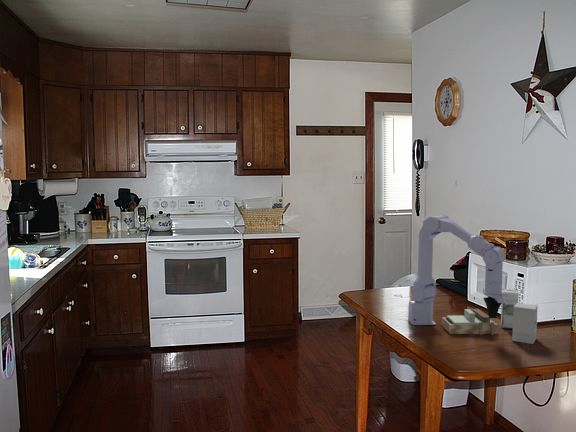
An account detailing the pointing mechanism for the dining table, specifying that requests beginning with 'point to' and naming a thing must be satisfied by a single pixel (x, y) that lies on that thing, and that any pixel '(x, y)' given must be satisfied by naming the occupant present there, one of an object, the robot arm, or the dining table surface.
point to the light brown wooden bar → (481, 316)
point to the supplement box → (524, 323)
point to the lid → (466, 319)
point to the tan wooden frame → (469, 328)
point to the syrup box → (508, 307)
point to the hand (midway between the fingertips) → (492, 317)
